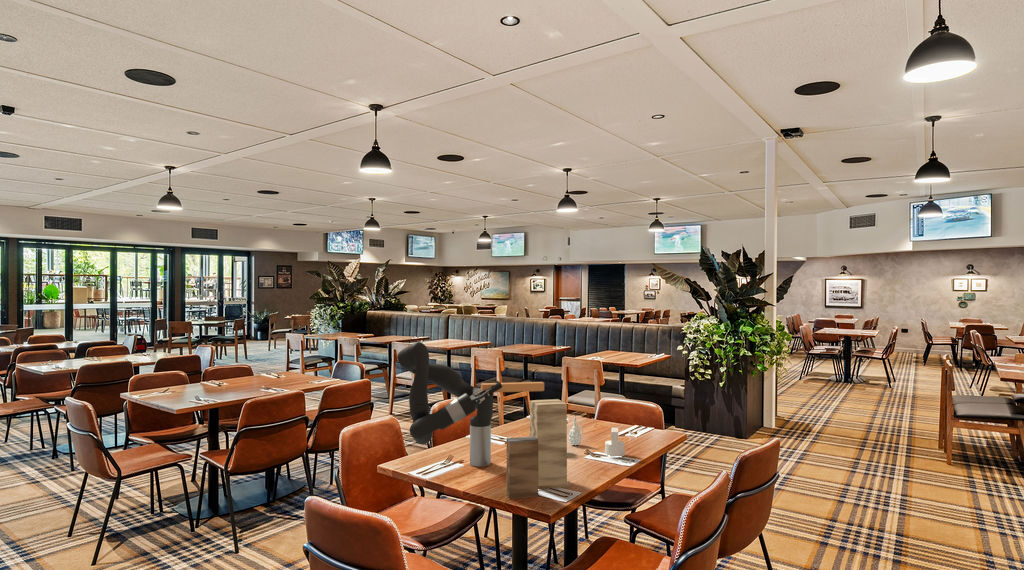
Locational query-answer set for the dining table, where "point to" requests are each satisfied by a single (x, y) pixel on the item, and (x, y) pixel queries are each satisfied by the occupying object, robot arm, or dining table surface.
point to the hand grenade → (575, 434)
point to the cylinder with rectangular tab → (614, 445)
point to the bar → (516, 386)
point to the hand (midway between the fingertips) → (499, 383)
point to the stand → (550, 441)
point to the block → (522, 467)
